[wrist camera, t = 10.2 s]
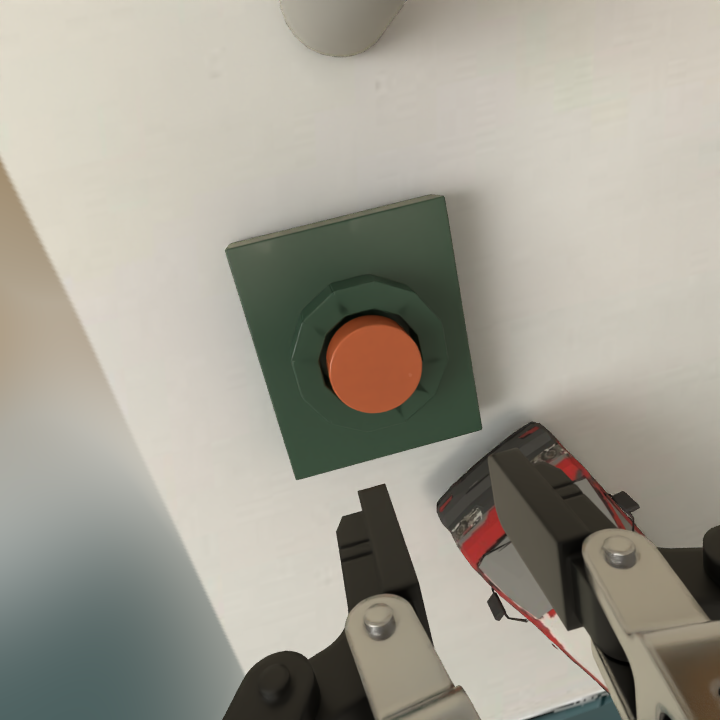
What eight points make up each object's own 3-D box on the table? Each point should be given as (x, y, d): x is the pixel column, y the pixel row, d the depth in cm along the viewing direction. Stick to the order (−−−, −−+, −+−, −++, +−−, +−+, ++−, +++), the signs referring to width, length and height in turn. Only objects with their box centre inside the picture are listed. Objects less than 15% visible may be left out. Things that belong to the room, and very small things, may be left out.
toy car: (538, 383, 30) (655, 478, 21) (673, 576, 36) (811, 716, 27) (410, 479, 31) (467, 612, 22) (564, 652, 37) (659, 813, 28)
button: (316, 327, 24) (318, 338, 22) (404, 304, 24) (413, 314, 22) (337, 407, 25) (341, 424, 23) (420, 385, 25) (430, 400, 24)
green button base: (229, 243, 25) (219, 255, 22) (432, 193, 26) (457, 196, 22) (295, 459, 30) (297, 501, 26) (469, 412, 30) (495, 446, 26)
